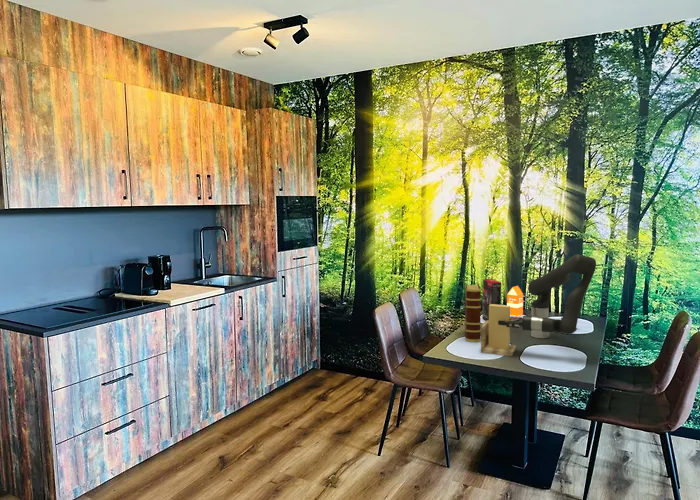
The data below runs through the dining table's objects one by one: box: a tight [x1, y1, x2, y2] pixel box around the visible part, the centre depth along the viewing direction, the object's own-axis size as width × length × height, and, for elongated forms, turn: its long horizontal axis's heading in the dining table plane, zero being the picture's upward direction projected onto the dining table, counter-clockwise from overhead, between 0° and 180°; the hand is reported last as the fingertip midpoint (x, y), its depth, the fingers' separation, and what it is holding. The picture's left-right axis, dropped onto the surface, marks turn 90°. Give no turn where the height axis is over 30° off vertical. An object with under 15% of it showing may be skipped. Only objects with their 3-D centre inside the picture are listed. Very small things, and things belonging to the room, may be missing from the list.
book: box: [489, 304, 511, 349], centre depth 250 cm, size 4×10×22 cm, turn 63°
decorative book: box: [464, 283, 482, 343], centre depth 278 cm, size 22×8×30 cm, turn 168°
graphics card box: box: [481, 278, 502, 321], centre depth 315 cm, size 17×7×27 cm, turn 5°
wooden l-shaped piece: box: [480, 320, 517, 357], centre depth 251 cm, size 16×14×14 cm
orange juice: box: [506, 285, 524, 317], centre depth 334 cm, size 8×9×20 cm
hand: (499, 320), depth 250 cm, fingers open, 8 cm apart
